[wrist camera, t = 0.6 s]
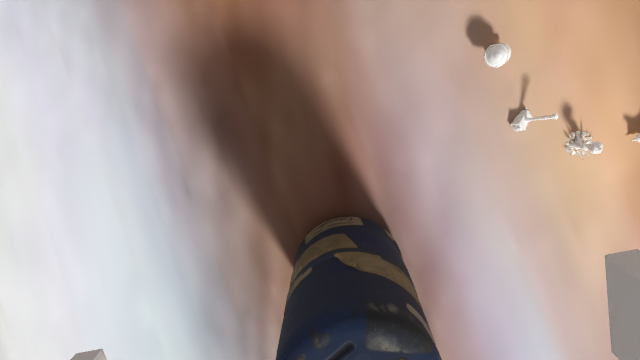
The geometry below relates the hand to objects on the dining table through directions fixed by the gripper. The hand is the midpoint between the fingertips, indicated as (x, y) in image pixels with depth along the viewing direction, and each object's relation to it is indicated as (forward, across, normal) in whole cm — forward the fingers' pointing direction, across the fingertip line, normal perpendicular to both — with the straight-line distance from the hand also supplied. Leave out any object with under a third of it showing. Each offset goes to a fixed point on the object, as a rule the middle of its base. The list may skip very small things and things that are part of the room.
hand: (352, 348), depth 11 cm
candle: (+26, -1, -10) cm, 28 cm away
